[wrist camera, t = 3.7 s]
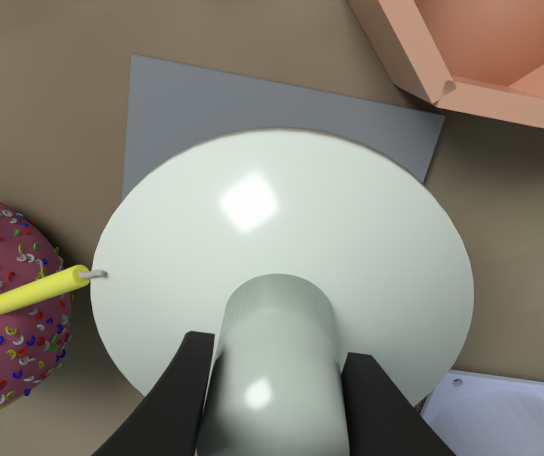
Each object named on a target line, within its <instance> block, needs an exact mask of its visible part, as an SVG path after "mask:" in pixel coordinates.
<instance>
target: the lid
mask: <svg viewBox="0 0 544 456" xmlns="http://www.w3.org/2000/svg"><path fill="white" fill-rule="evenodd" d="M96 269H99V270H103V271H104V272H105V275H104V276H103V277H100V276H96V277H94V278H91V303H92V309H93V316H94V319H95V322H96V325H97V329H98V332H99V335H100V337H101V339H102V341H103V343H104V345H105V347H106V350H107V352H108V354H109V355H110V357H111V358H112V360H113V361H114V363H115V364H116V366H117V367H118V369H119V370H120V371H121V372H122V374H123V375H124V376H125V377H126V378H127V379H128V381H129V382H130V383H131V384H132V385H133V386H134V387H135V388H136V389H137V390H138V391H139V392H140V393H142V394H143V395H144V396H145V397H146V395H147V394H148V393H149V392H150V390H151V389H152V388H153V386H154V385H155V384H156V382H157V381H158V379H159V378H160V377H161V375H162V374H163V372H164V371H165V370H166V368H167V367H168V365H169V364H170V362H171V360H172V359H173V357H174V356H175V354H176V352H177V350H178V349H179V347H180V345H181V343H182V341H183V338H184V336H185V334H186V333H187V332H189V331H197V332H204V333H212V334H215V340H214V349H213V356H212V362H211V368H210V374H209V380H208V385H207V391H206V397H205V403H204V409H203V415H202V420H201V424H200V429H199V434H198V439H197V454H198V456H349V441H348V432H347V424H346V415H345V406H344V398H343V389H342V380H341V373H342V370H343V367H344V364H345V361H346V358H347V354H348V352H353V353H360V354H368V355H372V356H373V357H374V359H375V360H376V361H377V362H378V363H379V365H380V366H381V367H382V368H383V370H384V371H385V372H386V374H387V375H388V376H389V377H390V379H391V380H392V381H393V382H394V384H395V385H396V386H397V387H398V389H399V390H400V391H401V392H402V394H403V395H404V396H405V397H406V399H407V400H408V401H409V402H410V404H411V405H412V406H413V407H414V406H415V405H416V404H418V403H419V402H420V401H421V400H422V399H423V398H425V397H426V396H427V395H428V394H429V393H430V392H431V391H432V390H433V389H434V388H435V387H436V386H437V385H438V384H439V383H440V382H441V380H442V379H443V378H444V377H445V376H446V374H447V373H448V371H449V370H450V368H451V367H452V365H453V364H454V363H455V361H456V359H457V357H458V355H459V353H460V351H461V349H462V347H463V345H464V343H465V340H466V337H467V334H468V331H469V328H470V325H471V320H472V313H473V306H474V281H473V276H472V271H471V266H470V260H469V258H468V255H467V252H466V250H465V247H464V244H463V241H462V239H461V237H460V235H459V234H458V232H457V230H456V228H455V227H454V225H453V223H452V221H451V220H450V218H449V216H448V215H447V213H446V212H445V210H444V209H443V207H442V205H441V204H440V203H439V202H438V200H437V199H436V198H435V197H434V195H433V194H432V193H431V192H430V190H429V189H428V188H427V187H426V186H425V185H424V184H423V183H422V182H421V181H420V180H419V179H418V178H417V177H416V176H414V175H413V174H412V173H411V172H410V171H409V170H408V169H407V168H405V167H404V166H402V165H401V164H399V163H398V162H396V161H395V160H393V159H392V158H390V157H389V156H387V155H386V154H384V153H382V152H380V151H378V150H376V149H374V148H372V147H370V146H368V145H366V144H364V143H362V142H359V141H356V140H353V139H350V138H347V137H344V136H341V135H338V134H335V133H330V132H325V131H320V130H315V129H310V128H299V127H283V126H274V127H259V128H248V129H243V130H238V131H233V132H228V133H223V134H220V135H217V136H214V137H211V138H208V139H205V140H202V141H199V142H197V143H195V144H193V145H191V146H189V147H187V148H185V149H183V150H181V151H179V152H177V153H175V154H173V155H172V156H170V157H169V158H167V159H166V160H165V161H163V162H162V163H160V164H159V165H157V166H156V167H154V168H153V169H152V170H151V171H150V172H149V173H148V174H147V175H146V176H145V177H144V178H143V179H141V180H140V181H139V182H138V183H137V184H136V185H135V187H134V188H133V189H132V190H131V192H130V193H129V194H128V196H127V197H126V198H125V199H124V201H123V202H122V203H121V205H120V206H119V207H118V208H117V210H116V211H115V212H114V214H113V215H112V217H111V218H110V220H109V222H108V224H107V226H106V228H105V229H104V231H103V233H102V235H101V238H100V240H99V243H98V246H97V249H96V252H95V255H94V260H93V266H92V270H96Z"/></svg>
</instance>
